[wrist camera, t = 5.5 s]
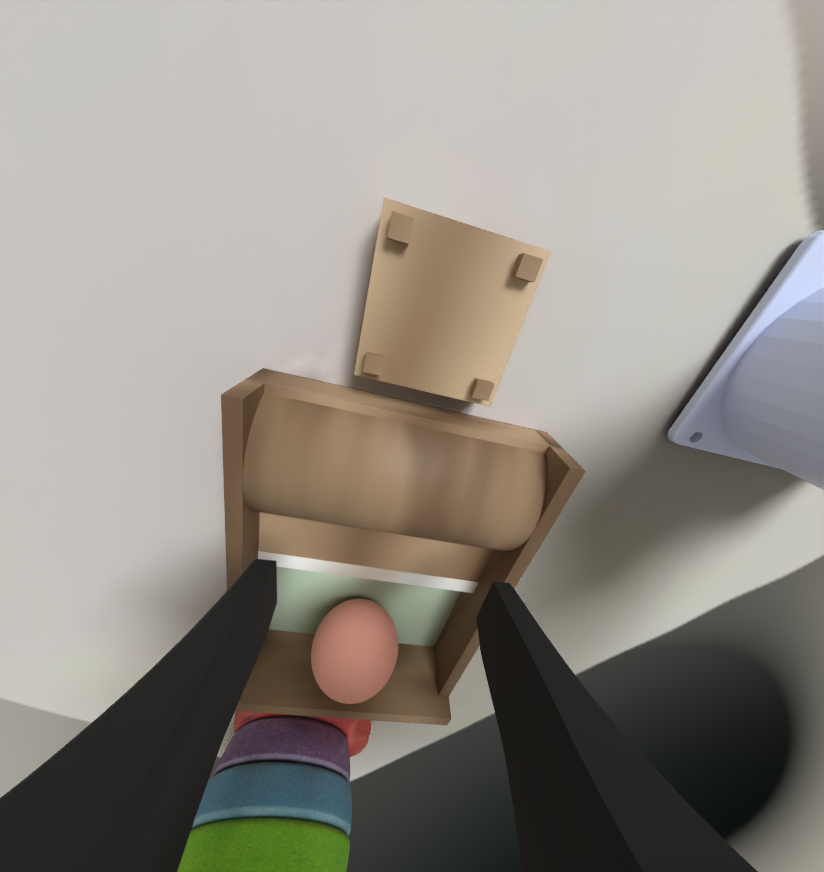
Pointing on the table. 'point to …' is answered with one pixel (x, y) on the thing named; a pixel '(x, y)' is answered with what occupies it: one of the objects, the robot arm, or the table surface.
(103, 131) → the table surface
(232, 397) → the wooden tray
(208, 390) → the table surface
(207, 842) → the stacking bear
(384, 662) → the ball
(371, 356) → the wooden footed board
